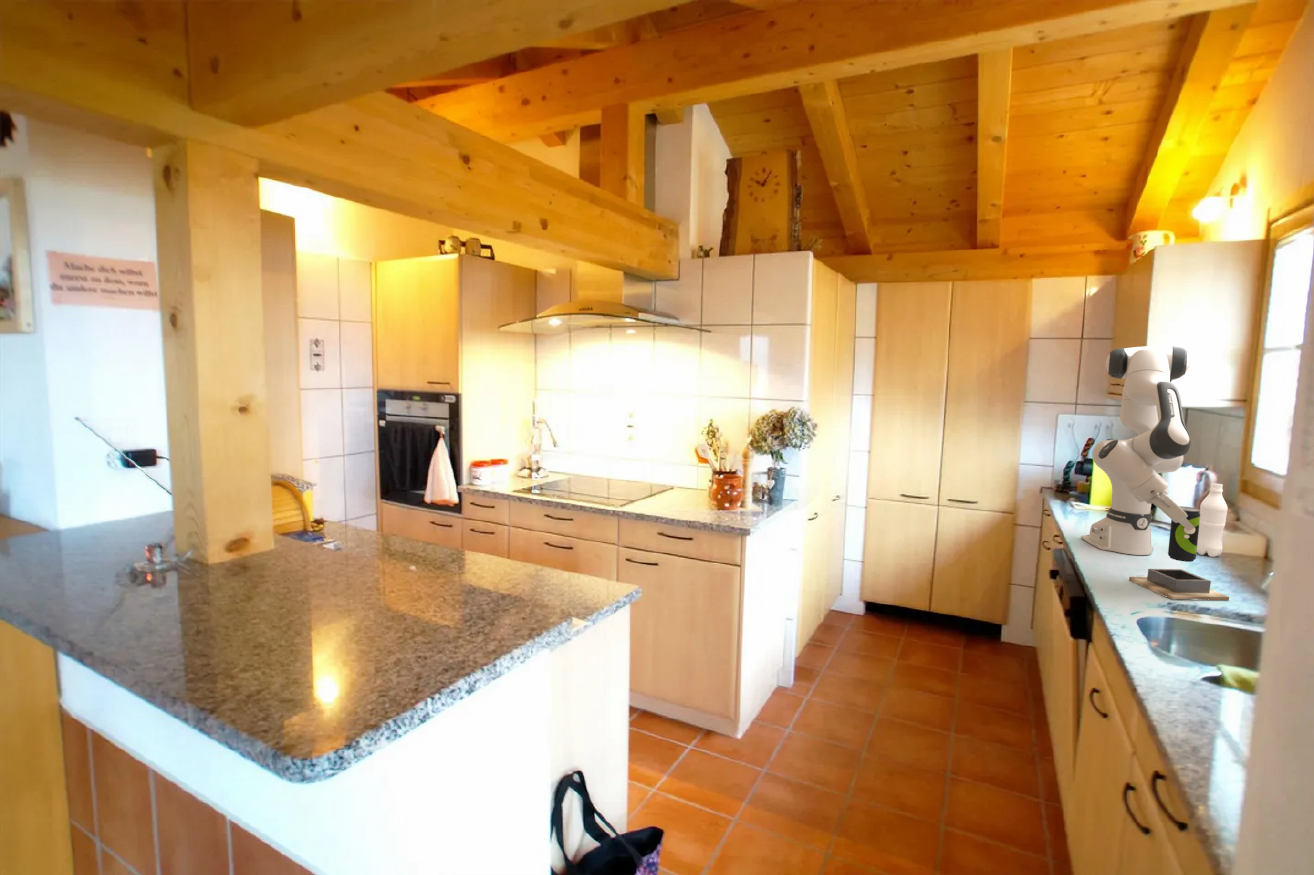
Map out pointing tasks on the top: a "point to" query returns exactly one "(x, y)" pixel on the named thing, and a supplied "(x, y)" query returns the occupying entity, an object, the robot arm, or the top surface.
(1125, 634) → the top surface
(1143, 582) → the docking plate
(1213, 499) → the water bottle
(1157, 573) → the gray open box
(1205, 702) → the top surface
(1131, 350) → the robot arm
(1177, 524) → the beverage can
